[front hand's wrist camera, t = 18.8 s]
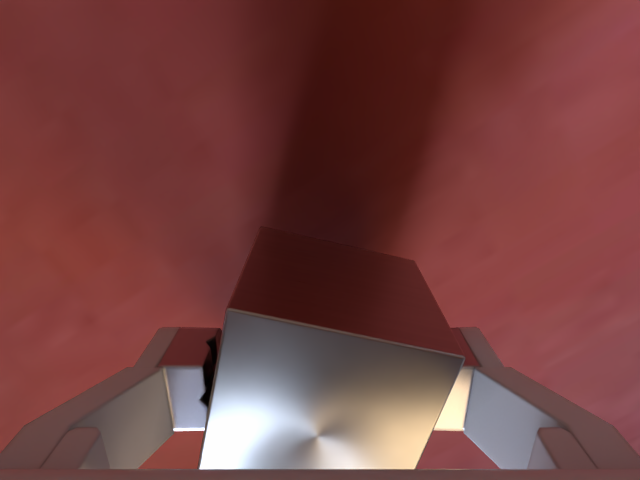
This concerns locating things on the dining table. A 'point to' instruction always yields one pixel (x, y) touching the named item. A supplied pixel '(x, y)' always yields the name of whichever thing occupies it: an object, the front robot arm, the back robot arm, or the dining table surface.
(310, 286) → the block
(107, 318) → the dining table surface
